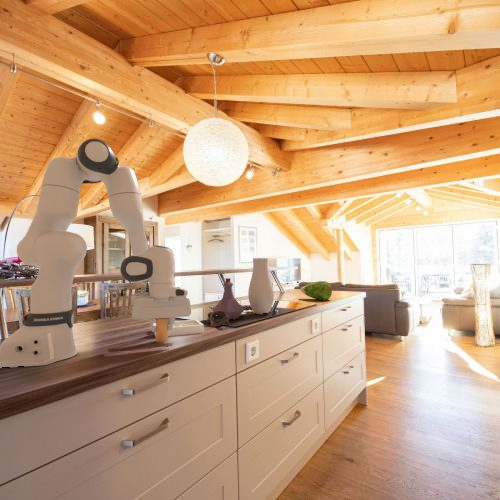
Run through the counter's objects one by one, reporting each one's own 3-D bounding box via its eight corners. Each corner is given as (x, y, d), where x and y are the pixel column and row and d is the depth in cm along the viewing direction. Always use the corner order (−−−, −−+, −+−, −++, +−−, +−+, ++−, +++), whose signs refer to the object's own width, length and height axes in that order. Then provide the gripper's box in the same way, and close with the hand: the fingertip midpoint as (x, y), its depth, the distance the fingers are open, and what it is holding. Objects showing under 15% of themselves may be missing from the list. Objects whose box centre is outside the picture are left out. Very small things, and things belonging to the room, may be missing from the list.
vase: (243, 314, 175) (242, 258, 176) (259, 311, 185) (258, 258, 186) (263, 316, 166) (262, 257, 167) (279, 313, 176) (278, 257, 177)
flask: (227, 322, 152) (226, 279, 153) (205, 318, 164) (204, 279, 164) (251, 317, 164) (250, 277, 165) (229, 314, 176) (228, 277, 176)
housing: (155, 340, 120) (155, 329, 120) (153, 333, 132) (153, 323, 132) (203, 335, 126) (203, 324, 127) (197, 329, 139) (196, 319, 139)
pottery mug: (235, 326, 145) (233, 312, 142) (221, 339, 139) (218, 325, 135) (215, 317, 152) (212, 303, 148) (201, 329, 146) (198, 315, 142)
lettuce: (306, 297, 246) (306, 280, 246) (334, 299, 230) (334, 280, 231) (295, 299, 235) (295, 281, 236) (324, 301, 220) (324, 282, 220)
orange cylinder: (156, 343, 112) (156, 319, 112) (155, 340, 116) (155, 317, 116) (168, 342, 113) (168, 318, 114) (167, 339, 117) (167, 317, 117)
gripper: (130, 293, 109) (130, 334, 108) (191, 291, 116) (192, 330, 115) (131, 291, 115) (130, 331, 114) (189, 289, 121) (189, 327, 121)
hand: (161, 330), depth 115 cm, fingers closed on orange cylinder, 4 cm apart
